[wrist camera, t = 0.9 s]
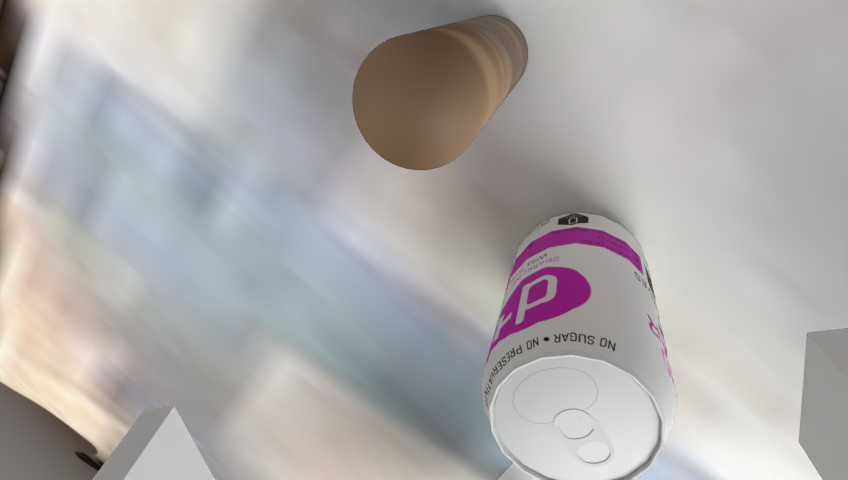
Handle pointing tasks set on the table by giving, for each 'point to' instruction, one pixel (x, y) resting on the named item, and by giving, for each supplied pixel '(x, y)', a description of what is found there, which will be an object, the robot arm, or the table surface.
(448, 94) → the walnut peg
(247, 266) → the table surface
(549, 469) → the supplement can
